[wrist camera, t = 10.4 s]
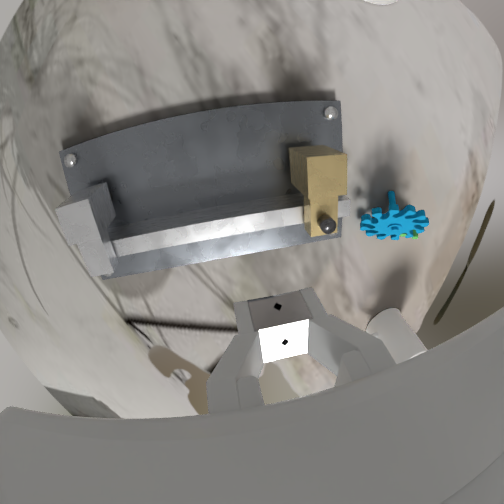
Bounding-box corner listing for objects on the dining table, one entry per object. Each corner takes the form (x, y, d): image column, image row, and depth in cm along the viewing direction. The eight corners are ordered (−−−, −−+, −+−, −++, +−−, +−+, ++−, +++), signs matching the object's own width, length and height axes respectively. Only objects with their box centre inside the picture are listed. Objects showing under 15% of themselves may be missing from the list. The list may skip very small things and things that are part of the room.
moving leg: (284, 145, 29) (307, 158, 22) (318, 142, 29) (348, 154, 23) (289, 215, 33) (310, 243, 27) (320, 210, 33) (346, 237, 27)
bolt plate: (63, 149, 25) (56, 152, 24) (335, 100, 28) (342, 100, 27) (104, 274, 35) (101, 282, 33) (337, 233, 37) (342, 239, 36)
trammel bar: (75, 188, 27) (47, 211, 21) (334, 141, 30) (367, 153, 23) (96, 250, 31) (77, 283, 25) (335, 207, 34) (363, 232, 28)
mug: (345, 336, 50) (371, 384, 39) (369, 303, 46) (402, 350, 36) (384, 339, 53) (410, 379, 43) (406, 309, 50) (437, 349, 39)
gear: (345, 228, 35) (409, 206, 27) (344, 190, 37) (402, 164, 29) (387, 250, 40) (442, 235, 32) (385, 216, 42) (436, 199, 34)
